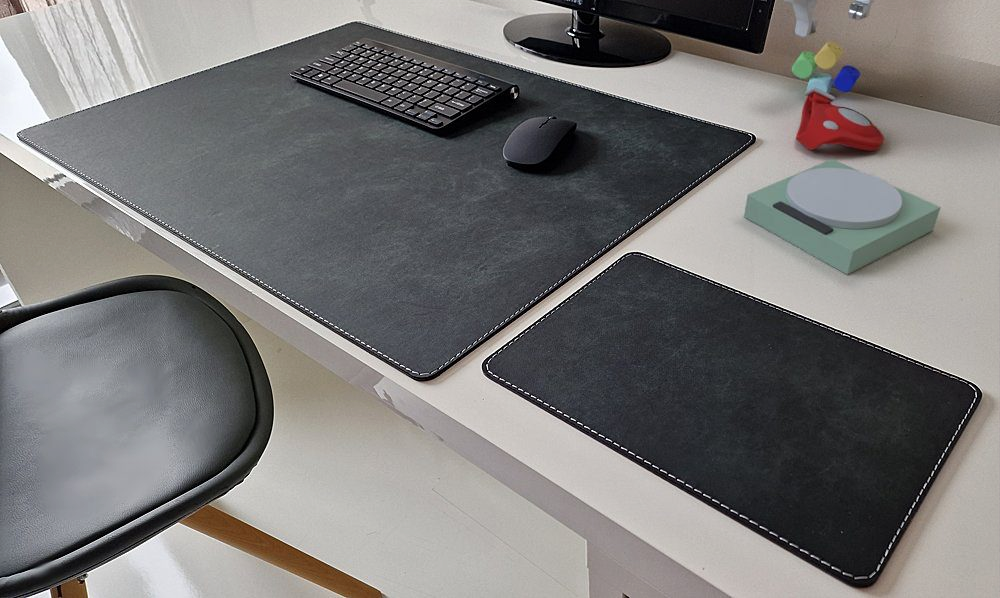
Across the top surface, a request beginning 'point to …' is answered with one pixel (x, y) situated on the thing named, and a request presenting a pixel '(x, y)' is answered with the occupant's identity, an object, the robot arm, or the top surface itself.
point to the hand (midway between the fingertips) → (831, 26)
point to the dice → (825, 61)
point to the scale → (841, 214)
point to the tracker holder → (835, 124)
